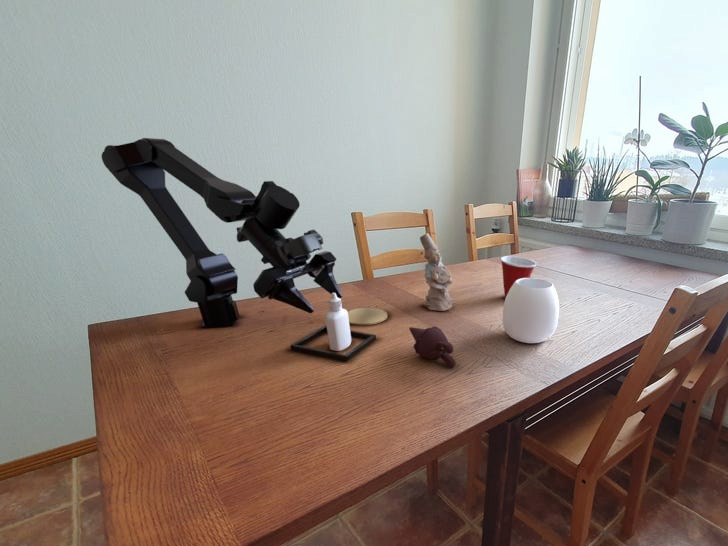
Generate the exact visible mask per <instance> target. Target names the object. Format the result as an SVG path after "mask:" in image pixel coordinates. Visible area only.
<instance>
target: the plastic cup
mask: <svg viewBox="0 0 728 546" xmlns="http://www.w3.org/2000/svg"><path fill="white" fill-rule="evenodd" d="M500 262H501V270H502V281H503V290H504V292H503V293H504V298H505V299H506V296H507V294H508V292H509V290H510V288H511V287H512V285H513V284H514V282H515V281H516V280H518V279H521V278H531V277H532V276H531V275H532V273H533V271H534V269H535V267H537V262H536V261H534V260H532V259H528V258H526V257H521V256H513V255H505V256H501V257H500Z"/></svg>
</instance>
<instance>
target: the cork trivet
mask: <svg viewBox="0 0 728 546" xmlns="http://www.w3.org/2000/svg"><path fill="white" fill-rule="evenodd" d="M347 312H348V318H349V325H354V326H371V325H376V324H380V323H382V322H385V320H387V319H388V313H387V312H386V310H384V309H382V308H377V307H359V308H354V309H353V308H352V309H350V310H347Z"/></svg>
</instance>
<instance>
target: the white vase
mask: <svg viewBox="0 0 728 546" xmlns="http://www.w3.org/2000/svg"><path fill="white" fill-rule="evenodd" d="M559 313H560V301H559V296H558V293H557V289H556V287H555V284H553V282H551V281H549V280H547V279H543V278H539V277H538V278H537V277H530V278H521V279H518V280H516V281H515V282H514V284H513V285H512V287H511V288H510V290H509V292H508V294H507V296H506V298H505V299H504V304H503V309H502V318H501V320H502V321H501V322H502V327H503V329H504V331H505V332H506V334H507V335H508V336H509V337H510V338H511V339H512V340H515V341H517V342H520V343H526V344H539V343H543V342H545V341H547V339H549V338H550V337H552V336H553V334H554V333H555V331H556V330H557V328H558V323H559V315H560V314H559Z"/></svg>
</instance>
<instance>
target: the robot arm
mask: <svg viewBox="0 0 728 546" xmlns="http://www.w3.org/2000/svg"><path fill="white" fill-rule="evenodd" d="M101 161H102V163H103V165H104V167H105V168H106V169H107V170H108V171H109V172H110V174H112V176H113V177H114V178H115V179H116V180H117V181H118V183H119V184H120V185H122V186H123V187H125V188H127V189H129V190H130V191H131V192H133V193H135V194H137V195H138V196H139V197H140V198H141V199H142V201H143V203H144V204H145V205H146V206H147V208H148V209H149V211H150V212H151V213H152V215H153V216H154V218H155V219H156V220H157V222H158V223H159V224H160V227H162V229H163V230H164V231H165V233H166V235H168V237H169V239H170V240H171V241H172V242H173V244H174V245H175V247H176V248H177V249H178V251H179V252H180V254H181V255H182V257H183V258H184V259H185V264H186V265H185V272H186V276H187V277H188V279H189V281H190V282H189V284H188V285H187V287H186V289H185V290H184V294H185V296H186V298H187V299H188V301H189V302H191V303H196V304H197V307H198V309H199V312H200V316H201V319H202V324H201V327H202V328H218V327H231V326H232V327H233V326H235V325H236V323H237V321H238V320H239V318H240V315H241V314H240V313H239V309H238V308H239V307H238V305H237V302H236V300H233V297H232V296H233V295H237V293H238V283H239V282H238V279H239V277H238V276H239V275H238V273H237V272H236V268H235V266H233V265H232V264H231V262H230V261H229V259H228V257H227V255H225V254H224V253H218V254H217V253H215V252H213V251H211V250H210V248H209V247H208V246H207V244H206V243H205V241H204V240H203V239H202V237H201V236H200V235H199V233H198V231H197V230H196V229H195V227H194V226H193V224H192V223H191V221H190V220H189V219H188V217H187V215H186V214H185V213H184V211H183V210H182V208H181V207H180V205H179V204H178V203H177V201H176V200H175V198H174V197H173V196H172V194H171V192H170V191H169V189H168V188H167V186H166V173H168V174H169V175H170V176H172V177H173V178H175V179H176V180H178V181H179V182H180V183H182V184H183V185H185V186H186V187H187V188H189V189H191V190H192V191H193V192H195V193H196V194H197V195H198V196H199V197H201V198H202V199H203V200H204V203H205V206H206V208H207V209H208V210H209V211H211V212H212V213H213V214H214V215H215V216H216V217H217V218H218V219H219V220H220V221H222V222H224V223H236V222H237V223H238V222H243V221H244V222H243V224H242V226H238V227H236V241H237V242H238V243H243V242H246V241H247V242H249V243H250V244H251V245H252V246H253V247H254V248H255V249H256V251H258V253H259V254H260V255H261V256H262V258H261V259H260V262H262V263H263V264H264V265H266V264H269V265H271V266H272V267H269V268H265V269H263V270H261V272H260V274H259V275H258V276H257V278H256V280H255V281H254V282H253V284H252V285H253V290H254V292H255V294H256V295H257V296H258V297H259V298H260V299H265V298H267V299H269V300H275V301H278V302H281V303H284V304H287V305H289V306H292V307H295V308H296V309H299V310H301V311H304V312H306V313H308V314H313V313H314V311H315V309H314V307H313V306H312V305H311V303H310V302H309V301H308V299H306V298H305V296H304V295H303V294H302V293H301V292H300V290H299V289H298V288H297V287H296V285H295V282H294V281H295V280H294V279H296V278H299V277H303V276H305V275H308V276H309V277H311V278H313V280H312V281H313V283H315V284H317V285H318V286H320V287H321V288H322V289H323V290H325V291H326V292H328V294H330V295H332V293H336V296H337V298H340V299H341V300H342V298H343V294H342V292H341V289H340V287H339V284H338V282H337V280H336V278H335V275H334V266H335V265H336V263H335V262H336V261H337V257H335V255H334V254H333V253H332V252H331V251H329V250H328V251H325V250H324V251H321V252H318V253H315V254H314V255H313V257H312V255H311V254H312V253H313V252H316V251H320V250H323V247H322V245H323V244H324V239H323V236H322V235H321V234H320V233H319V232H318V231H317V230H316V229H310V230H308V231H307V232H304V233H303V235H300V236H298V237H295V238H293V237H287V238H286V236H285V235H283V233H282V232H280V230H284V229H286V227H287V226H288V225H289V223H290V222H291V220H292V218H293V217H294V216H295V214H296V213H297V212H298V209H299V208H300V201H299V199H298V198H297V196H296V195H295V194H294V193H293V192H290V191H289V190H287V189H286V188H284V187H282V186H280V185H277V183H275V181H273V180H264V181H263V182H262V184H261V187H260V190H259V192H258V193H257V196H256V195H255V194H254V193H253V191H251V190H249V189H248V188H245V187H243V186H241V185H239V184H237V183H234V182H231V181H228V180H224V179H221V178H220V177H217V176H216V175H215V174H214V173H212V172H210V171H209V170H208V169H206V168H205V167H204V166H202V165H201V164H199V163H198V162H196V161H195V160H194V159H192V158H191V157H189V156H188V155H186V154H185V153H184V152H182V150H180V149H178V148H177V147H175V145H174V143H172V141H169V140H167V139H165V138H151V137H142V138H140V139H137V140H135V141H133V142H132V141H131V142H128V143H123V144H118V145H114V144H113V145H112V144H107V145H106V146H105V147H104V150H103V151H102V152H101ZM311 257H312V258H311ZM310 258H311V259H310ZM308 260H310V261H309V262H307V261H308Z"/></svg>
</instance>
